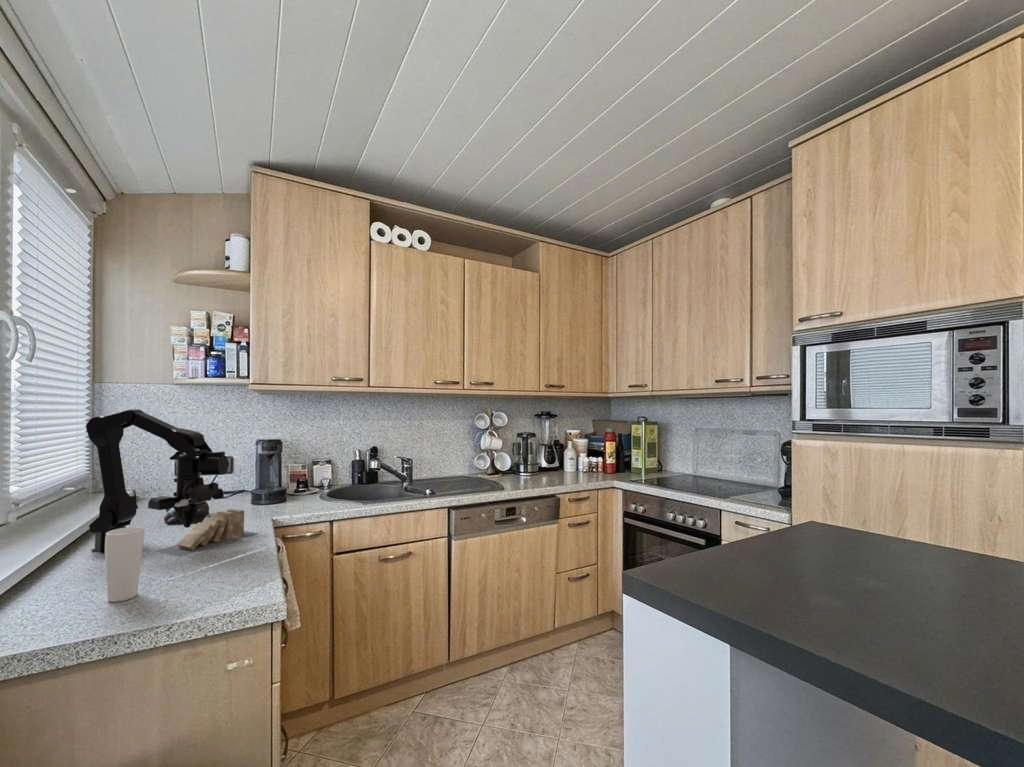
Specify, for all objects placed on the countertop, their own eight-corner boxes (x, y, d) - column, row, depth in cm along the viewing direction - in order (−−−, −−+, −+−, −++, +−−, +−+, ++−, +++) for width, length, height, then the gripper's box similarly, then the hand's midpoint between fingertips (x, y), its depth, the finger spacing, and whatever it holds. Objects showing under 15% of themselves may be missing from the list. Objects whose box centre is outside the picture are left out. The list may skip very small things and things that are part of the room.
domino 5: (239, 536, 152) (239, 511, 152) (226, 534, 154) (227, 509, 154) (243, 535, 153) (244, 510, 153) (231, 532, 156) (231, 508, 156)
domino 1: (189, 547, 137) (211, 524, 142) (176, 544, 139) (198, 522, 145) (193, 550, 138) (214, 527, 143) (180, 547, 140) (201, 525, 146)
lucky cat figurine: (155, 526, 165) (153, 488, 170) (174, 530, 176) (171, 495, 181) (201, 511, 168) (197, 475, 173) (217, 517, 179) (213, 482, 184)
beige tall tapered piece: (109, 607, 101) (112, 536, 101) (97, 599, 105) (100, 531, 105) (147, 596, 107) (149, 529, 107) (134, 589, 110) (136, 525, 111)
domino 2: (201, 543, 141) (218, 519, 145) (188, 541, 143) (205, 516, 148) (205, 546, 142) (222, 521, 147) (192, 543, 144) (209, 519, 149)
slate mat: (180, 557, 132) (180, 556, 132) (154, 552, 137) (154, 550, 137) (259, 534, 155) (259, 533, 155) (234, 530, 160) (234, 529, 160)
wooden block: (226, 539, 148) (229, 513, 149) (214, 537, 150) (216, 511, 151) (231, 538, 149) (234, 512, 150) (218, 536, 152) (221, 510, 153)
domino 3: (214, 541, 144) (224, 514, 147) (201, 539, 147) (211, 513, 150) (218, 542, 146) (229, 515, 149) (206, 539, 148) (216, 514, 151)
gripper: (172, 481, 129) (170, 539, 128) (236, 472, 146) (235, 522, 145) (147, 478, 133) (145, 534, 132) (212, 469, 150) (211, 519, 150)
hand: (187, 527), depth 140 cm, fingers closed
